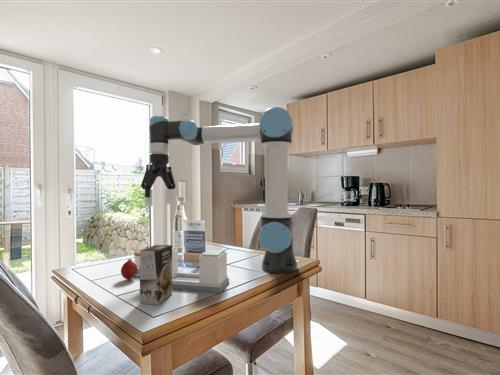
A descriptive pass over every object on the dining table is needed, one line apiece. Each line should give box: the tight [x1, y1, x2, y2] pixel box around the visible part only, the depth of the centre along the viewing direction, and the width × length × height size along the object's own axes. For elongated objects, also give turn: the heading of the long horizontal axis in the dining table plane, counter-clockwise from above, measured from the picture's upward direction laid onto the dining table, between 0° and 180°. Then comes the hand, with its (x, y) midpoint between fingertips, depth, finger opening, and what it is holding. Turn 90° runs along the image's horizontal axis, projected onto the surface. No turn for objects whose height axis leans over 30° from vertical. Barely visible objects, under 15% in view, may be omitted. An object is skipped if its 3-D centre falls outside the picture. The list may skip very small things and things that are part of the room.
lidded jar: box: [133, 246, 149, 270], centre depth 121 cm, size 11×11×9 cm
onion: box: [120, 258, 139, 281], centre depth 106 cm, size 6×6×8 cm
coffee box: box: [139, 244, 173, 306], centre depth 88 cm, size 9×6×16 cm
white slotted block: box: [172, 247, 230, 293], centre depth 101 cm, size 28×10×12 cm, turn 77°
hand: (159, 204), depth 117 cm, fingers open, 13 cm apart
